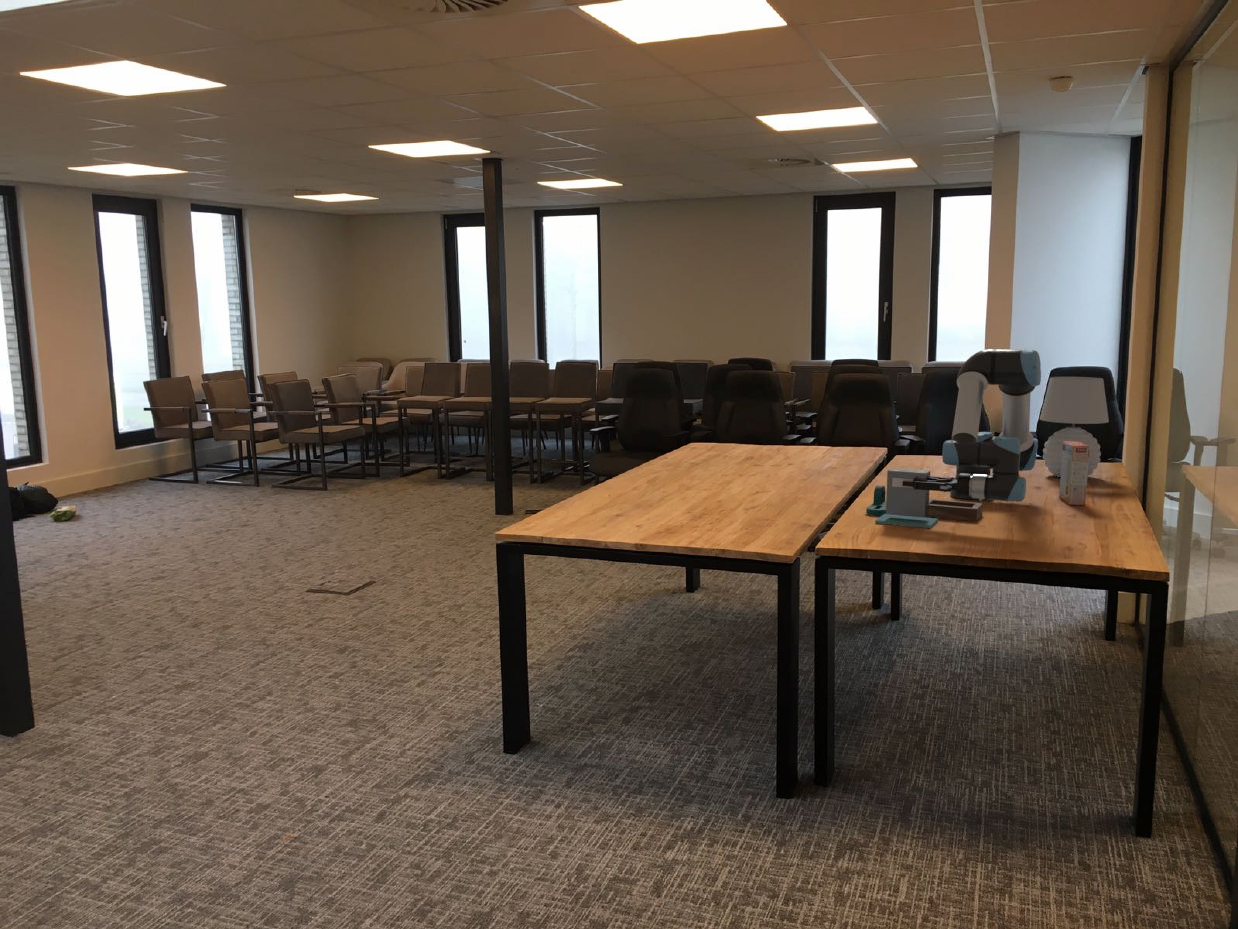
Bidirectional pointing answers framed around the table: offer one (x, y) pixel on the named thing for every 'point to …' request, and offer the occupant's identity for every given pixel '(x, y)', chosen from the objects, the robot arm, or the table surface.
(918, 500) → the dark grey block
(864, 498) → the table surface
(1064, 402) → the table lamp
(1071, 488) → the cracker box
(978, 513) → the slotted block
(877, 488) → the bracket
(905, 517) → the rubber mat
